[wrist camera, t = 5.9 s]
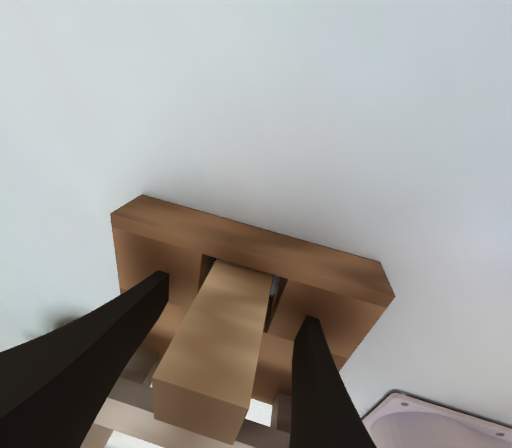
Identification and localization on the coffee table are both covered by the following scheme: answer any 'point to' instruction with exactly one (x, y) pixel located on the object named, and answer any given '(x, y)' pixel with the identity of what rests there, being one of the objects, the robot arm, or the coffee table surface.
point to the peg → (214, 354)
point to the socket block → (276, 321)
